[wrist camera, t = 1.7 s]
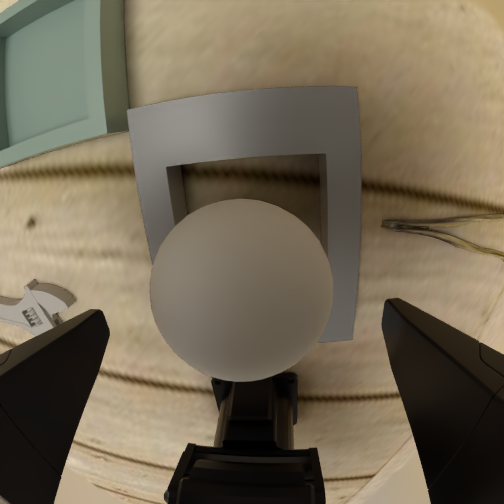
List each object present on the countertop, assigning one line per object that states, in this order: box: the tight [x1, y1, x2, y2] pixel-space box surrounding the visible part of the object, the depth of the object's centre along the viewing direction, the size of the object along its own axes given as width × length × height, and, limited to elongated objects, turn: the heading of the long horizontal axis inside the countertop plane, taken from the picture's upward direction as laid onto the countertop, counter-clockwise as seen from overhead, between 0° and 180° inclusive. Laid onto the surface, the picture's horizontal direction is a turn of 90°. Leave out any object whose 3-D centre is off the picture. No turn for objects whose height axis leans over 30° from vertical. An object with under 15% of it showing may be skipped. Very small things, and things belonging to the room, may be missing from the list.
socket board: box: [127, 86, 362, 343], centre depth 17 cm, size 14×11×2 cm
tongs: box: [381, 214, 504, 261], centre depth 17 cm, size 4×13×2 cm, turn 94°
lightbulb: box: [150, 199, 333, 382], centre depth 13 cm, size 6×6×11 cm
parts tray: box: [0, 0, 129, 169], centre depth 13 cm, size 11×11×3 cm
